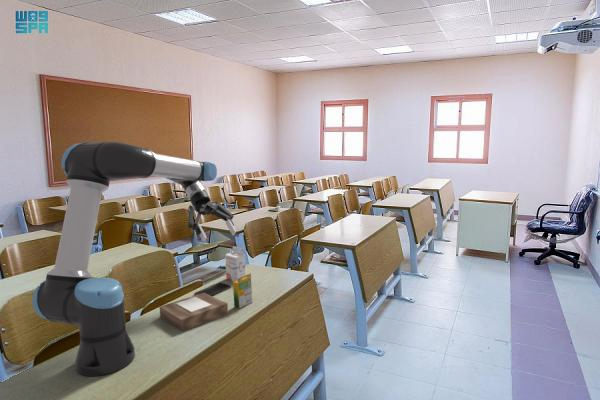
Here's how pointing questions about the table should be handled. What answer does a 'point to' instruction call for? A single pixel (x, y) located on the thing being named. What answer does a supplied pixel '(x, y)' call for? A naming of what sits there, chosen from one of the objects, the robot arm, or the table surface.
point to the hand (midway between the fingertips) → (220, 236)
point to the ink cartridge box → (235, 264)
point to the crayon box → (242, 291)
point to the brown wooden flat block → (193, 311)
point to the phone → (214, 289)
